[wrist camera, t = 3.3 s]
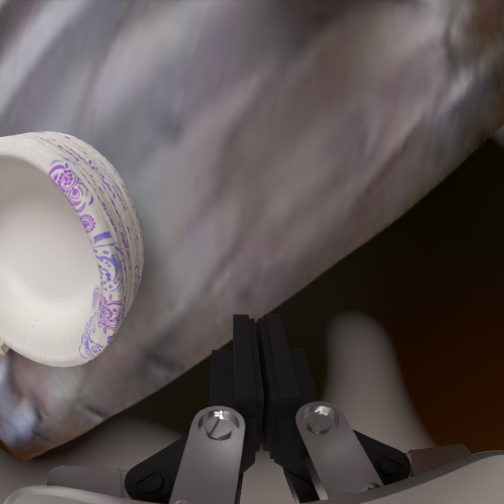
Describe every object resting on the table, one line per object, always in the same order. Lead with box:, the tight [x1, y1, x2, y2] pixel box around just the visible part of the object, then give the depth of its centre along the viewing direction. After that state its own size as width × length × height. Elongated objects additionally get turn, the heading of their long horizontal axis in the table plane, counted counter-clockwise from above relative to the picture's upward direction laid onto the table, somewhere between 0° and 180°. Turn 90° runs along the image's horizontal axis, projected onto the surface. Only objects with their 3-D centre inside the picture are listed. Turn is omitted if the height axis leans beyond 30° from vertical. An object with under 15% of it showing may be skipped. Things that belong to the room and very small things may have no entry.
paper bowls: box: [0, 131, 144, 367], centre depth 17 cm, size 15×15×8 cm
